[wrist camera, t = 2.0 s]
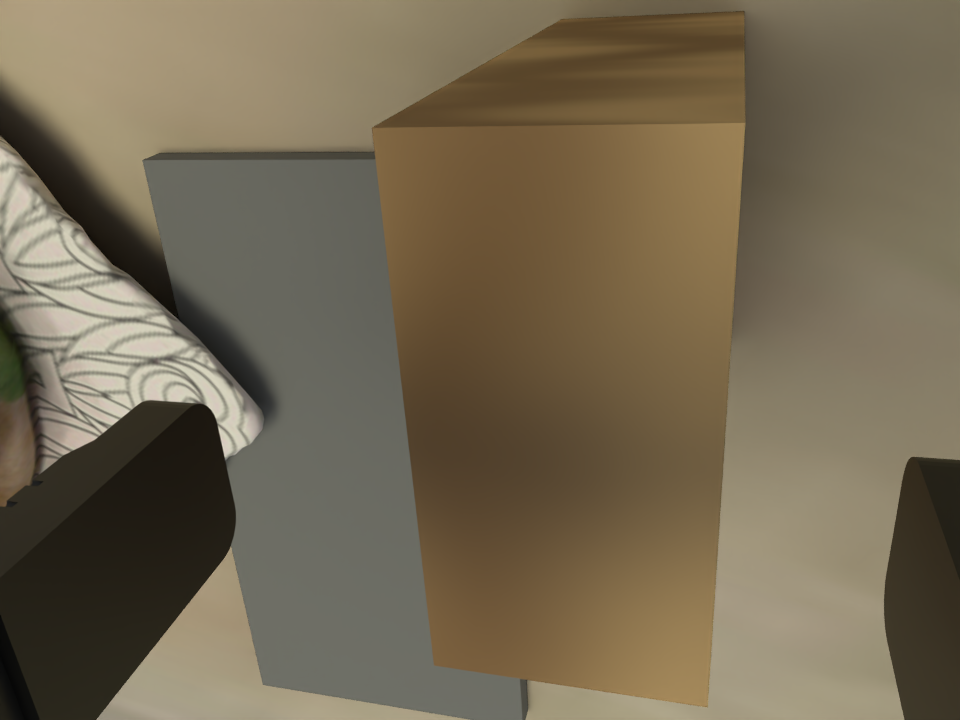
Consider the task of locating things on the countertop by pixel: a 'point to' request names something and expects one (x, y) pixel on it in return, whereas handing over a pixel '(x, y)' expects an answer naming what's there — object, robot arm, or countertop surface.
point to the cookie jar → (86, 340)
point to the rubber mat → (314, 422)
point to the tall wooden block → (571, 346)
